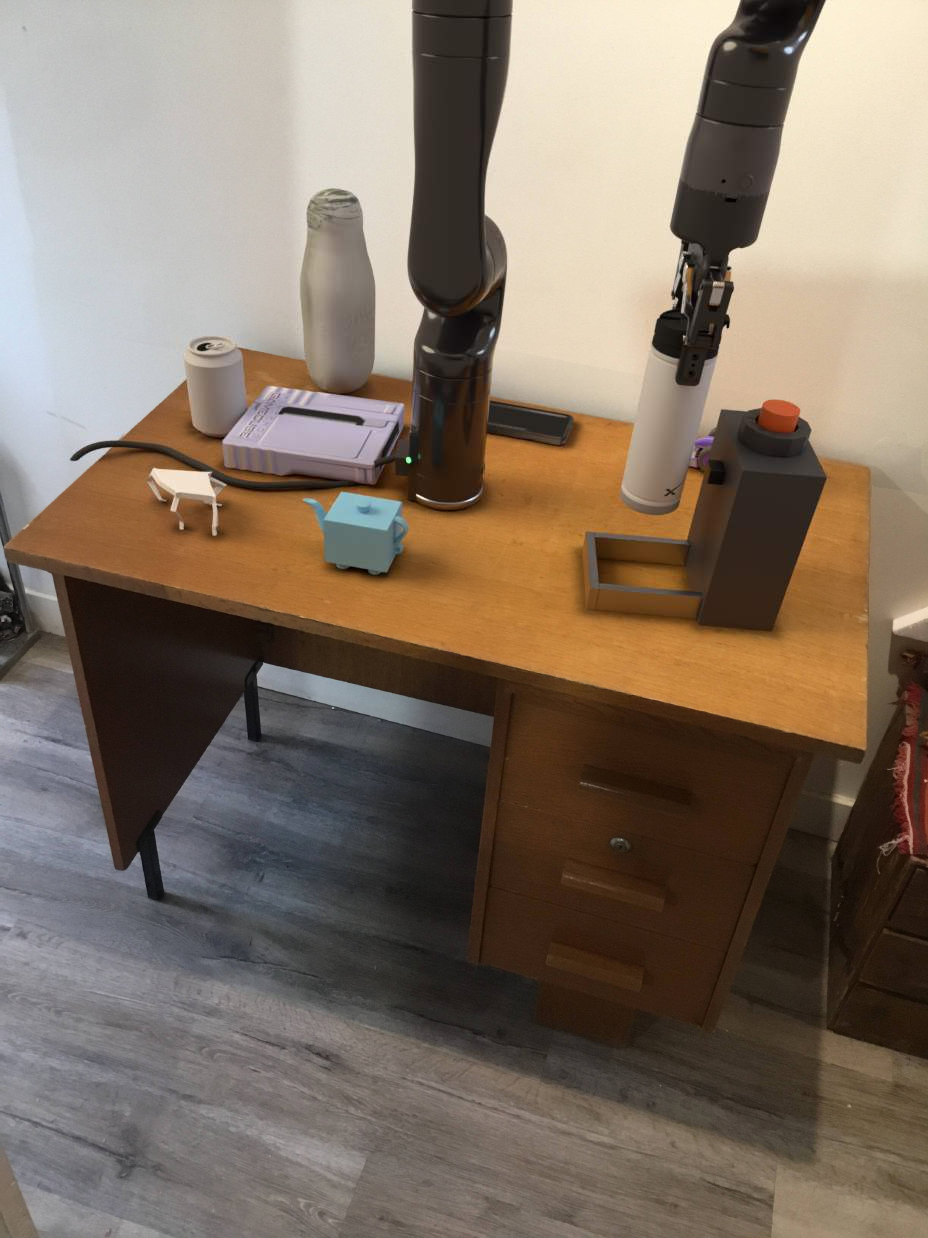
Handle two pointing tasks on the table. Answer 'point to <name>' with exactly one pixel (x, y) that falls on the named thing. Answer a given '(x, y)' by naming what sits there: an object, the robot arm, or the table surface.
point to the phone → (529, 423)
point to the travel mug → (665, 422)
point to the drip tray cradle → (641, 551)
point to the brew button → (779, 416)
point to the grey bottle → (337, 294)
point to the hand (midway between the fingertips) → (681, 367)
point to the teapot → (361, 531)
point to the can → (215, 384)
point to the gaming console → (314, 435)
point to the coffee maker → (752, 521)
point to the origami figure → (187, 489)
